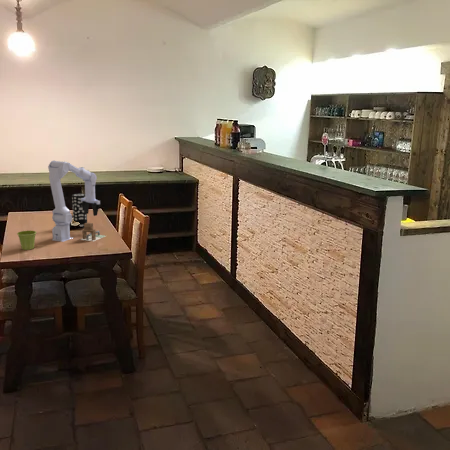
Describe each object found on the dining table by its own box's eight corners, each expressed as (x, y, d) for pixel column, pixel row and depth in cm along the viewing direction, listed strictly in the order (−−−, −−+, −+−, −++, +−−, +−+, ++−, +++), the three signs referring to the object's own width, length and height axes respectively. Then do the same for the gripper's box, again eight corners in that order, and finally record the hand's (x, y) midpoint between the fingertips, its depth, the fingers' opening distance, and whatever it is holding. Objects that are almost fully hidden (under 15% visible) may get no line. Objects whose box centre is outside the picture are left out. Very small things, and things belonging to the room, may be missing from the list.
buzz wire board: (93, 242, 287) (93, 233, 285) (79, 240, 290) (79, 231, 288) (106, 236, 298) (106, 228, 297) (93, 235, 301) (92, 226, 300)
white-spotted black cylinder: (82, 228, 316) (80, 196, 312) (70, 227, 319) (69, 195, 315) (90, 225, 324) (88, 194, 319) (78, 224, 327) (77, 193, 322)
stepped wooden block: (93, 240, 288) (92, 224, 286) (82, 239, 290) (81, 223, 288) (95, 239, 290) (95, 223, 288) (85, 238, 292) (84, 222, 290)
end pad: (101, 237, 294) (101, 237, 294) (89, 236, 297) (89, 235, 297) (105, 236, 298) (105, 235, 298) (92, 234, 301) (92, 234, 300)
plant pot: (36, 250, 268) (35, 234, 266) (17, 251, 266) (16, 235, 264) (37, 245, 277) (36, 230, 275) (19, 246, 274) (18, 231, 273)
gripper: (103, 192, 305) (104, 215, 308) (87, 190, 313) (87, 212, 316) (94, 194, 300) (95, 217, 303) (77, 191, 307) (78, 213, 310)
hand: (90, 214), depth 309 cm, fingers open, 7 cm apart
